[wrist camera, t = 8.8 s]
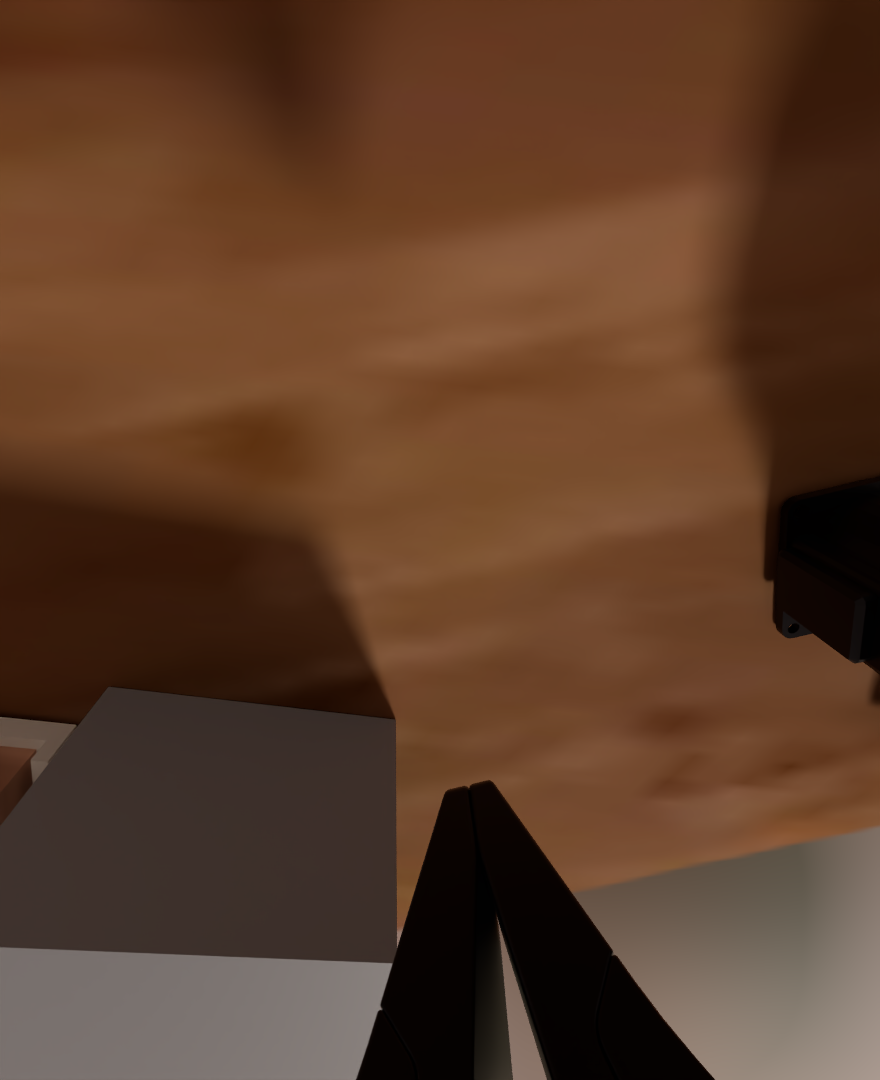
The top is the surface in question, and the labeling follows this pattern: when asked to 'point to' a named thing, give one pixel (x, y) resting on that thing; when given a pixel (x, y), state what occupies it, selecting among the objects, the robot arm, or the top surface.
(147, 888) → the tunnel
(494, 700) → the top surface
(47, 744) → the grey white bent piece
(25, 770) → the block
